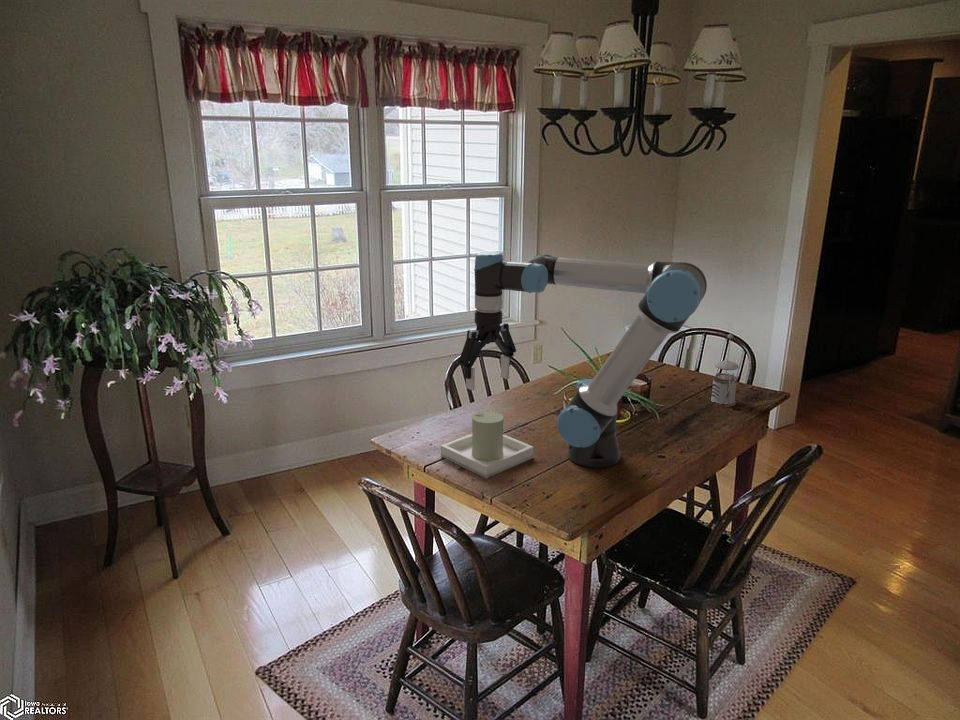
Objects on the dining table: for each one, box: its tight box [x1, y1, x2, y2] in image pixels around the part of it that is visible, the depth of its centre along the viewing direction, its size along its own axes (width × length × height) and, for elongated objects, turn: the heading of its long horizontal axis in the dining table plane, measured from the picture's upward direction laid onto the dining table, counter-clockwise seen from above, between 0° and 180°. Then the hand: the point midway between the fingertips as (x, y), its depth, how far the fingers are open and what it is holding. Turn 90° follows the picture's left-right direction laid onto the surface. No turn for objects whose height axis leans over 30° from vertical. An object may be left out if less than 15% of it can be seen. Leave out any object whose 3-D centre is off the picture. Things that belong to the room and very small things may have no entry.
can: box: [471, 410, 505, 461], centre depth 198 cm, size 9×9×12 cm
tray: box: [440, 433, 534, 480], centre depth 199 cm, size 19×19×4 cm
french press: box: [710, 334, 740, 404], centre depth 238 cm, size 10×12×25 cm
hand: (487, 383), depth 193 cm, fingers open, 13 cm apart
